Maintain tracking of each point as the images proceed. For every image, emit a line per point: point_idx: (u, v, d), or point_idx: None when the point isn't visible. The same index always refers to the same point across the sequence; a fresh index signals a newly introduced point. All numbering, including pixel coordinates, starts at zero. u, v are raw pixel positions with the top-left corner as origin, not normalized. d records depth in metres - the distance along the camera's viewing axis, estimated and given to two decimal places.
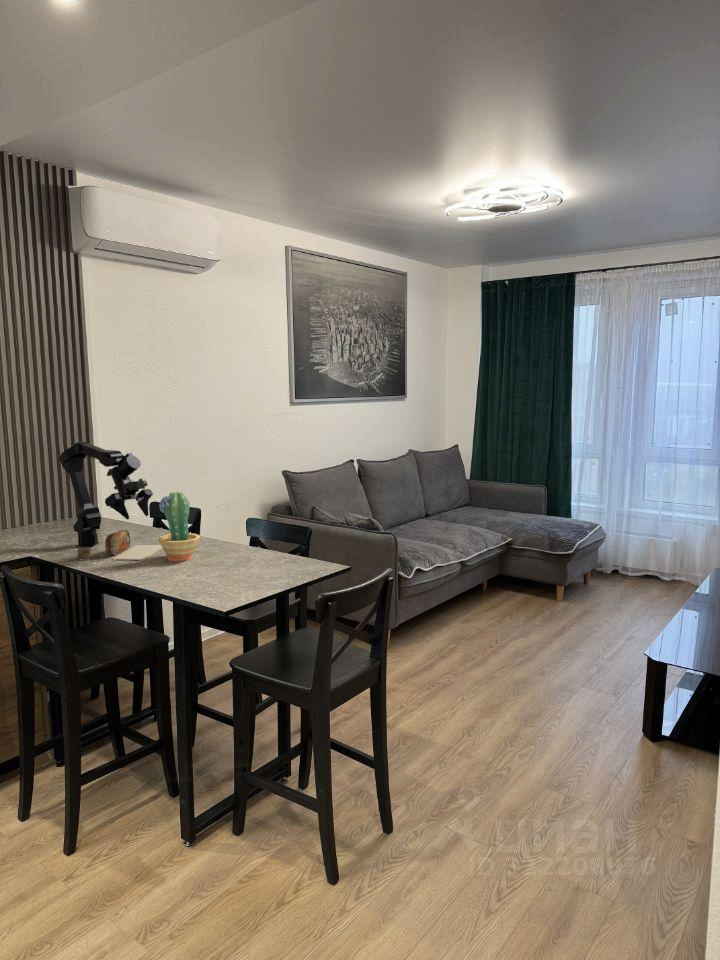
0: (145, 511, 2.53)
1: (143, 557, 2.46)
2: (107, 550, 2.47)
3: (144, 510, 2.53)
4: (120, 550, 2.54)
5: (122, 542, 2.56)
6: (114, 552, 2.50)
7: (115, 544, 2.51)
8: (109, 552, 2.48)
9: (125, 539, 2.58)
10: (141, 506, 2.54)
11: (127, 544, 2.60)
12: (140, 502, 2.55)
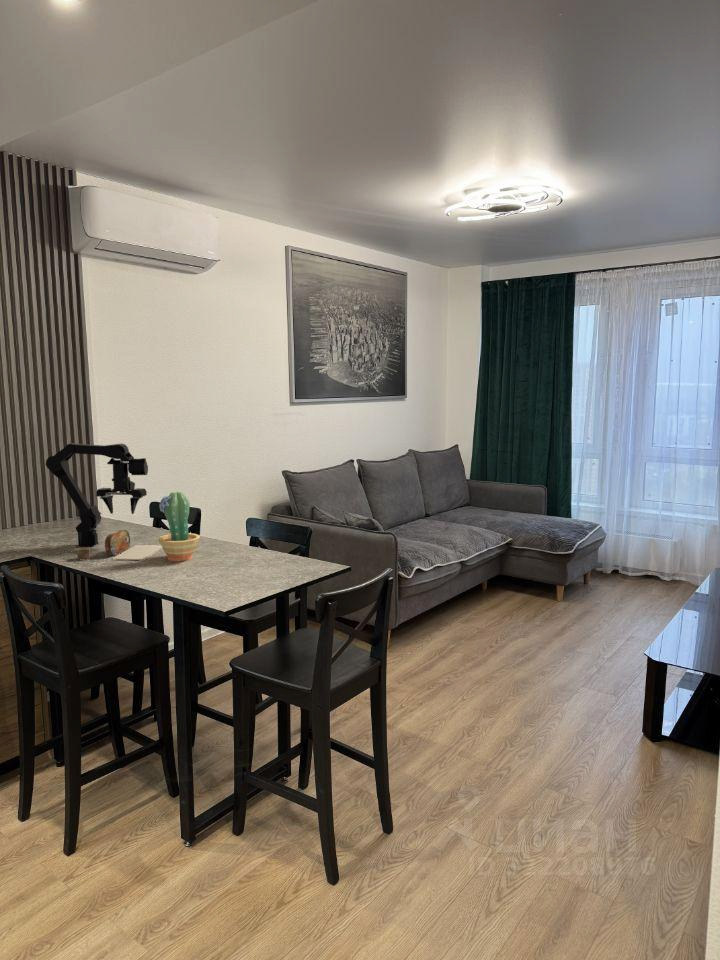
0: (112, 509, 2.66)
1: (143, 557, 2.46)
2: (107, 550, 2.47)
3: (111, 507, 2.66)
4: (120, 550, 2.54)
5: (122, 542, 2.56)
6: (114, 552, 2.50)
7: (115, 544, 2.51)
8: (109, 552, 2.48)
9: (125, 539, 2.58)
10: (109, 502, 2.65)
11: (127, 544, 2.60)
12: (109, 498, 2.65)
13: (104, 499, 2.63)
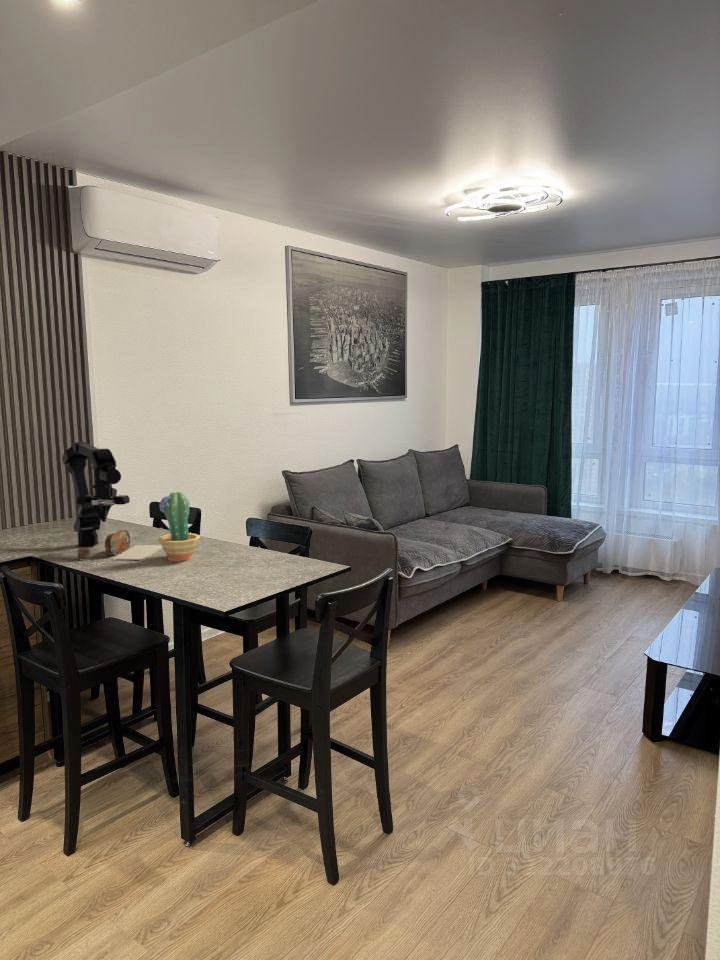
0: None
1: (143, 557, 2.46)
2: (107, 550, 2.47)
3: None
4: (120, 550, 2.54)
5: (122, 542, 2.56)
6: (114, 552, 2.50)
7: (115, 544, 2.51)
8: (109, 552, 2.48)
9: (125, 539, 2.58)
10: (101, 510, 2.52)
11: (127, 544, 2.60)
12: (100, 506, 2.52)
13: (95, 507, 2.51)
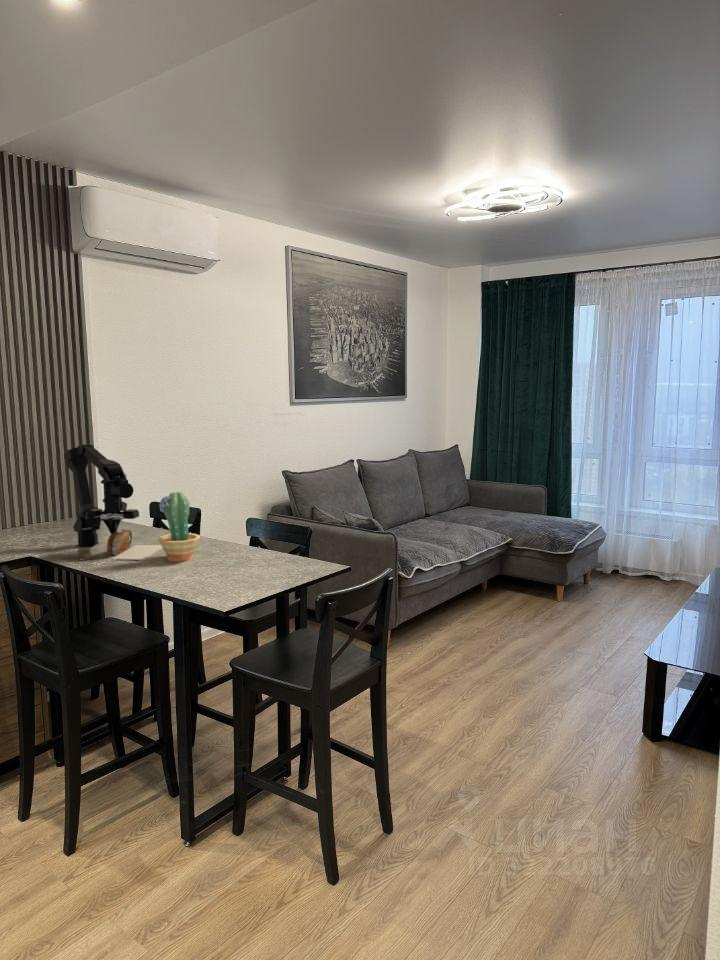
0: None
1: (143, 557, 2.46)
2: (108, 549, 2.47)
3: None
4: (120, 550, 2.54)
5: (124, 542, 2.56)
6: (115, 552, 2.50)
7: (117, 544, 2.51)
8: (110, 551, 2.48)
9: (127, 539, 2.58)
10: (110, 524, 2.52)
11: (128, 544, 2.60)
12: (110, 520, 2.52)
13: (105, 521, 2.51)
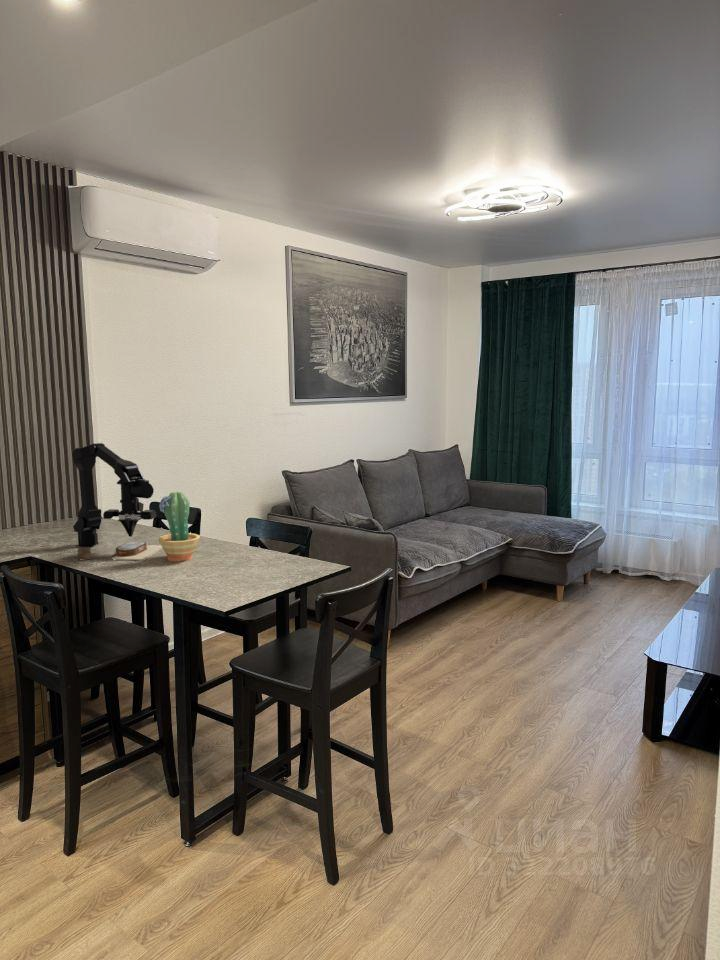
0: None
1: (143, 557, 2.46)
2: (118, 551, 2.47)
3: None
4: None
5: None
6: None
7: None
8: (117, 552, 2.47)
9: None
10: (128, 525, 2.52)
11: None
12: (127, 521, 2.52)
13: (122, 522, 2.50)
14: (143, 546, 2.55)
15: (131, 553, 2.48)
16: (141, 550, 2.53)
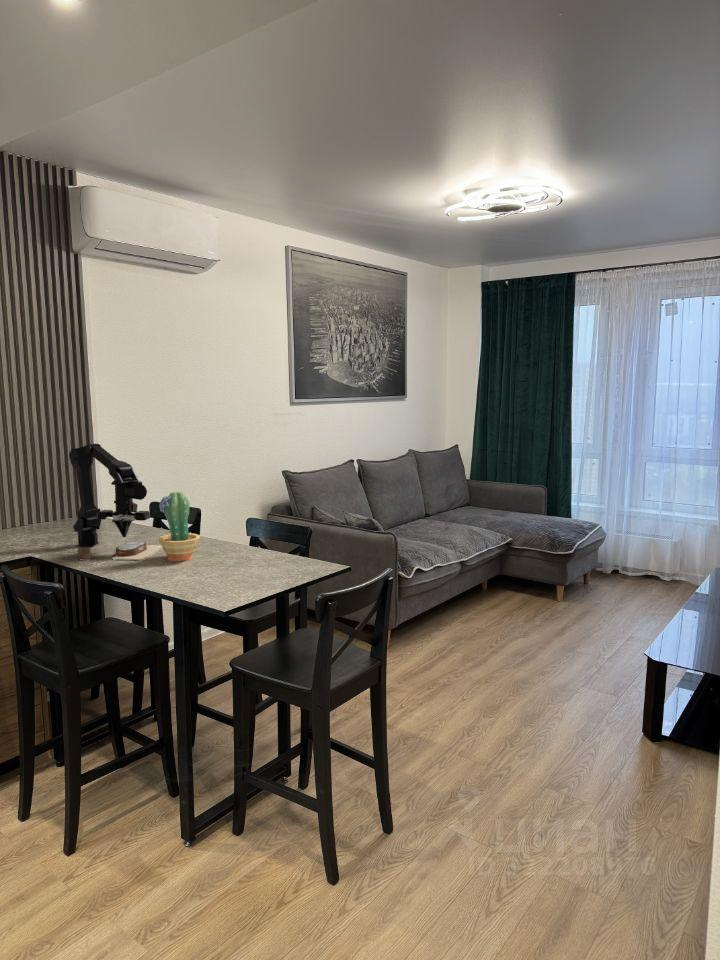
0: None
1: (143, 557, 2.46)
2: (118, 551, 2.47)
3: None
4: None
5: None
6: None
7: None
8: (117, 552, 2.47)
9: None
10: (121, 526, 2.52)
11: None
12: (121, 521, 2.52)
13: (116, 522, 2.51)
14: (143, 546, 2.55)
15: (131, 553, 2.48)
16: (141, 550, 2.53)
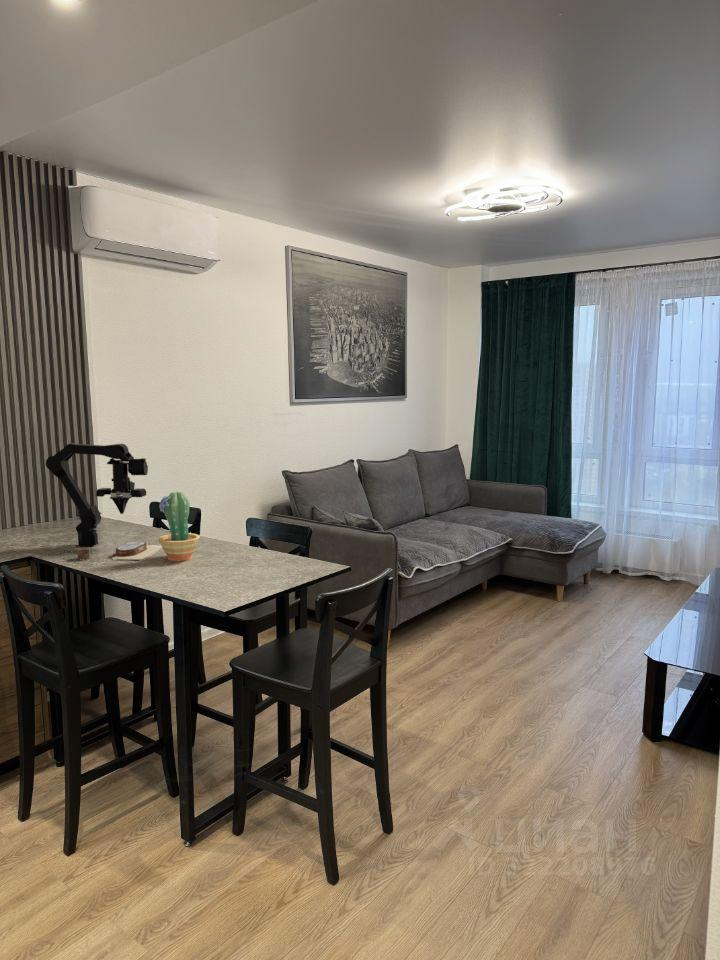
0: None
1: (143, 557, 2.46)
2: (118, 551, 2.47)
3: None
4: None
5: None
6: None
7: None
8: (117, 552, 2.47)
9: None
10: (119, 503, 2.64)
11: None
12: (118, 498, 2.64)
13: (114, 499, 2.63)
14: (143, 546, 2.55)
15: (131, 553, 2.48)
16: (141, 550, 2.53)
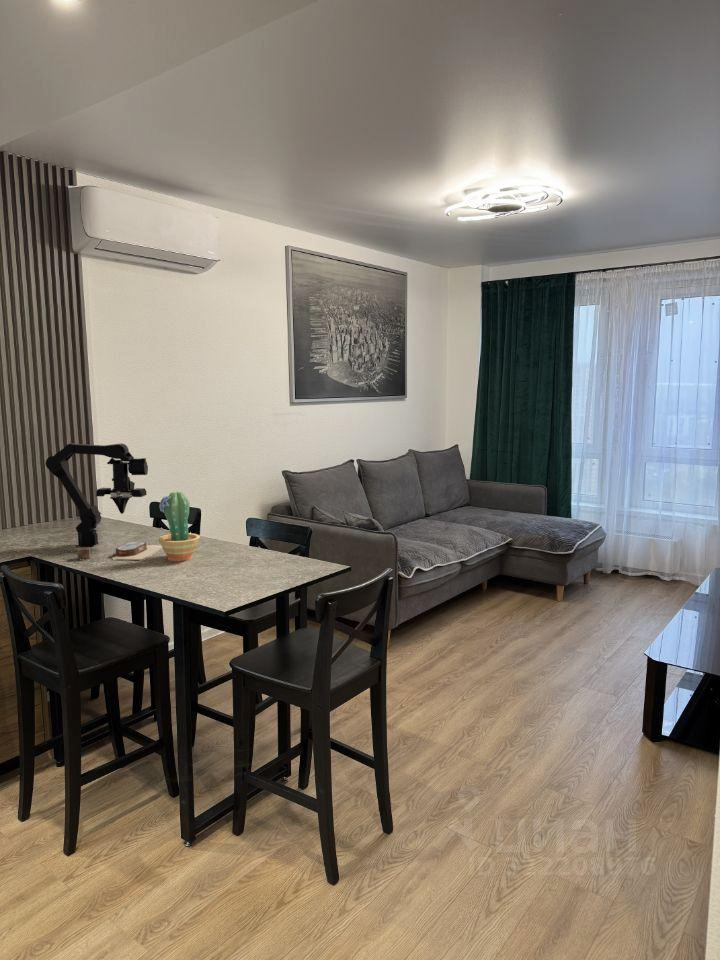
0: None
1: (143, 557, 2.46)
2: (118, 551, 2.47)
3: None
4: None
5: None
6: None
7: None
8: (117, 552, 2.47)
9: None
10: (119, 502, 2.65)
11: None
12: (119, 498, 2.65)
13: (114, 499, 2.63)
14: (143, 546, 2.55)
15: (131, 553, 2.48)
16: (141, 550, 2.53)
